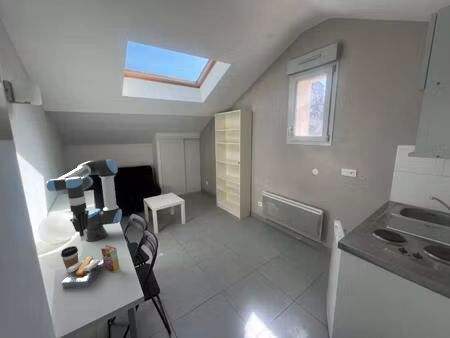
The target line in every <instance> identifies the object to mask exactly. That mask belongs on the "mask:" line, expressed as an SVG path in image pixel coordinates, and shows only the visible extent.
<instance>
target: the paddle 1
mask: <svg viewBox="0 0 450 338" xmlns="http://www.w3.org/2000/svg"><path fill="white" fill-rule="evenodd" d="M84 260H85V259H84ZM84 260H78V263H76V264H74V265H73V266H71V267H69V268H68V272H73V271H75V270H76V269H78V268H79V267H80V266H81V265H82V263H83V262H84Z"/></svg>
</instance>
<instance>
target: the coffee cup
mask: <svg viewBox="0 0 450 338" xmlns="http://www.w3.org/2000/svg"><path fill="white" fill-rule="evenodd" d="M60 252H61V254H60V257H62V262H63V264H64V266H65V269H66V270H65V271H66V272H67V274H71V273H72V272H68V268H69V267H71V266H73V265H74V264H76V263H78V262H79V253H78V252H79V249H78V247H77V246H73V245H72V246H68V247H66V248H64V249H62V250H61V251H60Z"/></svg>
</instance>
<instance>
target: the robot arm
mask: <svg viewBox="0 0 450 338" xmlns="http://www.w3.org/2000/svg"><path fill="white" fill-rule="evenodd" d="M117 173H118V165H117V163H116V161H115V160H114V159H108V158H107V159H96V160H95V159H93V160H88V161H86V162H83V163H81V164H79V165H78V166H77V168H75V169H73V170H71V171H70V172H68V173H66V174H64V175H62V176H60V177H58V178H52V179H48V180H47V181H46V189H47V190H48V191H49V192H63V191H64V192H65V191H66V192H67V197H68V202H69V203H68V204H69V207H70V208H69V209H70V212H71V213H72V218H70V219H69V221H70V222H71V223H72V226H73V228H74V230H75V232H76V233H79V236H80V241H81V242H82V241H85V242H97V241H100V240H102V239H104V238H106V237H107V235H108V233H107V230H106V228H105V227H104V225H114V224H119V223H120V221H121V219H122V217H123V216H122V215H123V211H122V209H121V208H119V206H118V205H117V198H116V197H117V196H116V190H115V189H116V187H115V178H114V177H116V174H117ZM93 175H98V177H99V178H100V179H101V186H102V196H103V203H104V207H103V208H102V210H101V208H95V209H91V210H86V209H87V207H88V206H87V203H86V200H87V199H86V195H85V190H87V189H89V188H90V187H91V186H92V185H93V183H94V180H93V178H92V177H90V176H93Z"/></svg>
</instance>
